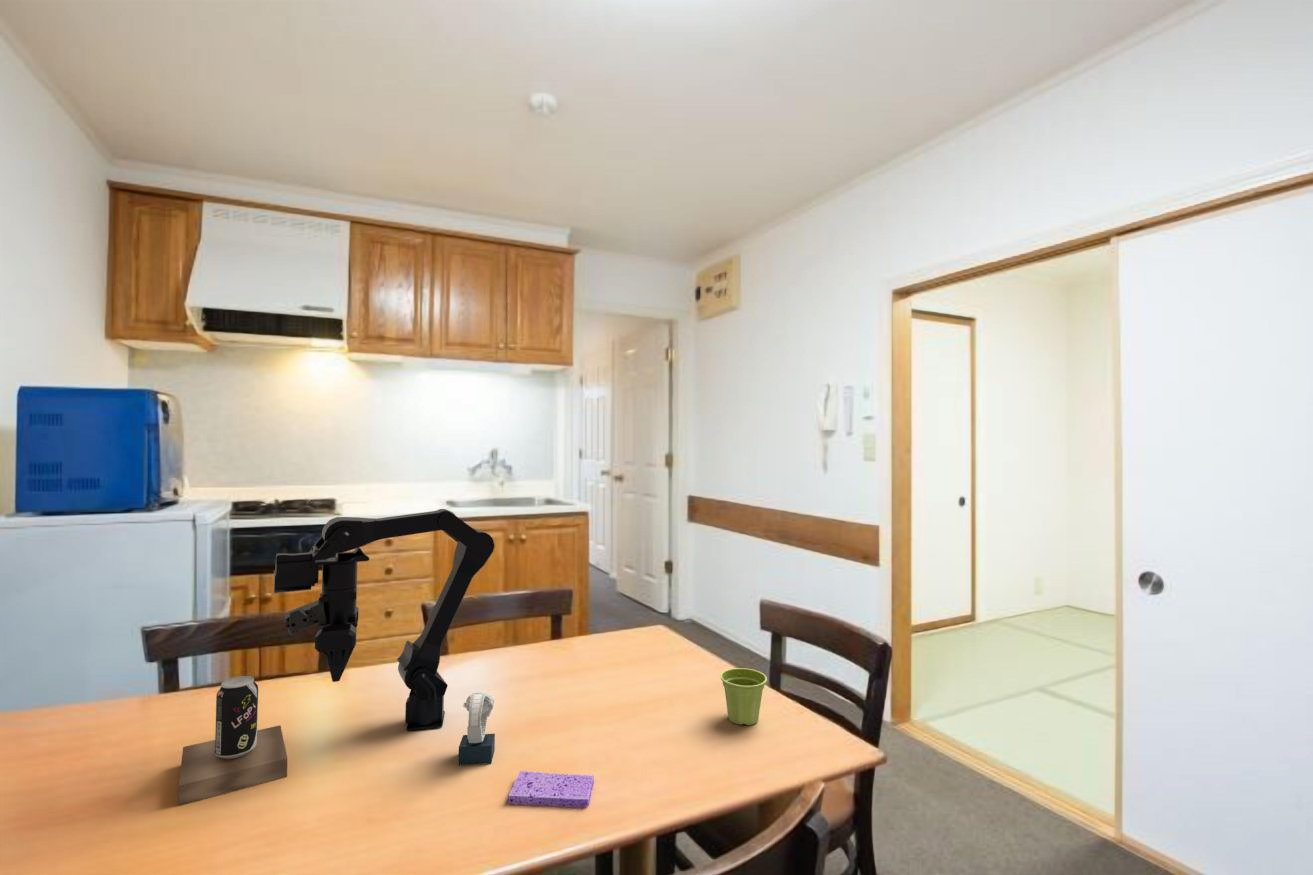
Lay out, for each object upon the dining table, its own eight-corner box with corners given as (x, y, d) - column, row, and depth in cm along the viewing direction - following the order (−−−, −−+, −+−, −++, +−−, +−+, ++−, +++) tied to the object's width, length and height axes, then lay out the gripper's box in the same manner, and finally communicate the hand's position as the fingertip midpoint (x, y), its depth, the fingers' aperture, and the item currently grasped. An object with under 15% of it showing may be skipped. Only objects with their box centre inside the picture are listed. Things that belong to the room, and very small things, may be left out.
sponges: (519, 781, 99) (520, 770, 99) (595, 785, 98) (595, 773, 98) (507, 807, 92) (507, 794, 92) (588, 811, 91) (588, 798, 91)
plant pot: (745, 734, 115) (746, 689, 115) (710, 717, 122) (711, 675, 122) (775, 720, 121) (776, 677, 121) (740, 704, 128) (741, 664, 128)
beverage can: (263, 742, 103) (265, 673, 103) (246, 760, 97) (247, 686, 97) (226, 745, 102) (228, 674, 102) (207, 762, 96) (209, 688, 96)
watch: (495, 745, 109) (497, 685, 109) (489, 768, 101) (491, 703, 101) (464, 746, 108) (465, 686, 109) (455, 770, 101) (457, 705, 101)
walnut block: (280, 741, 109) (280, 725, 109) (286, 776, 98) (287, 758, 98) (182, 764, 101) (183, 746, 101) (178, 805, 90) (178, 785, 90)
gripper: (294, 579, 114) (292, 661, 114) (280, 603, 97) (278, 699, 97) (359, 575, 119) (357, 653, 119) (356, 597, 102) (354, 688, 102)
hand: (337, 672), depth 109 cm, fingers open, 9 cm apart
